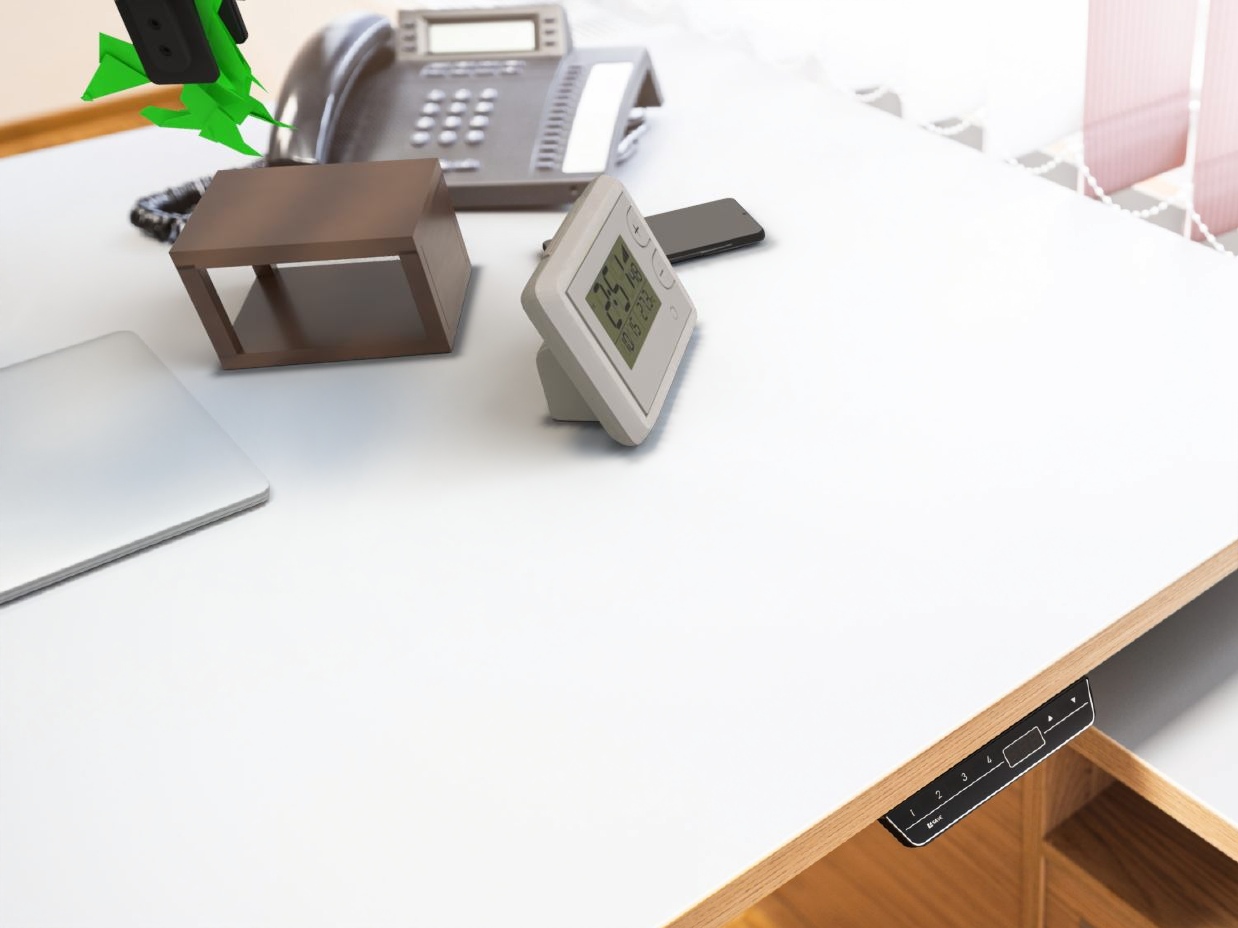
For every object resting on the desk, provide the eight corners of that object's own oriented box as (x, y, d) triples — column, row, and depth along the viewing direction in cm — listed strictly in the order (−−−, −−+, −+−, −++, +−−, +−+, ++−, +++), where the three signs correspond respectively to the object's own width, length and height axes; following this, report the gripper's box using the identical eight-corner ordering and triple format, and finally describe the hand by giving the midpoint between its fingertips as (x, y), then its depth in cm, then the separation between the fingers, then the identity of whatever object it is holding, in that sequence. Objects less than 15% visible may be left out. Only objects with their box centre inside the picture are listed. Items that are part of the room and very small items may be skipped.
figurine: (296, 170, 66) (171, -24, 59) (125, 180, 70) (-10, -1, 63) (369, 110, 70) (259, -79, 63) (203, 123, 74) (83, -54, 67)
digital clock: (641, 463, 79) (601, 297, 71) (502, 443, 80) (448, 278, 73) (743, 329, 90) (717, 175, 83) (619, 314, 91) (583, 160, 84)
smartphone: (539, 240, 97) (732, 195, 102) (542, 252, 98) (734, 206, 103) (567, 279, 93) (767, 230, 98) (570, 291, 93) (768, 242, 99)
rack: (224, 370, 85) (167, 252, 80) (265, 282, 94) (217, 169, 88) (451, 352, 87) (412, 236, 82) (472, 267, 96) (438, 157, 90)
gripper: (-6, -425, 60) (171, 8, 73) (-185, -376, 48) (64, 131, 61) (173, -422, 61) (316, 5, 74) (40, -373, 49) (238, 124, 62)
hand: (200, 57), depth 67 cm, fingers closed on figurine, 4 cm apart
